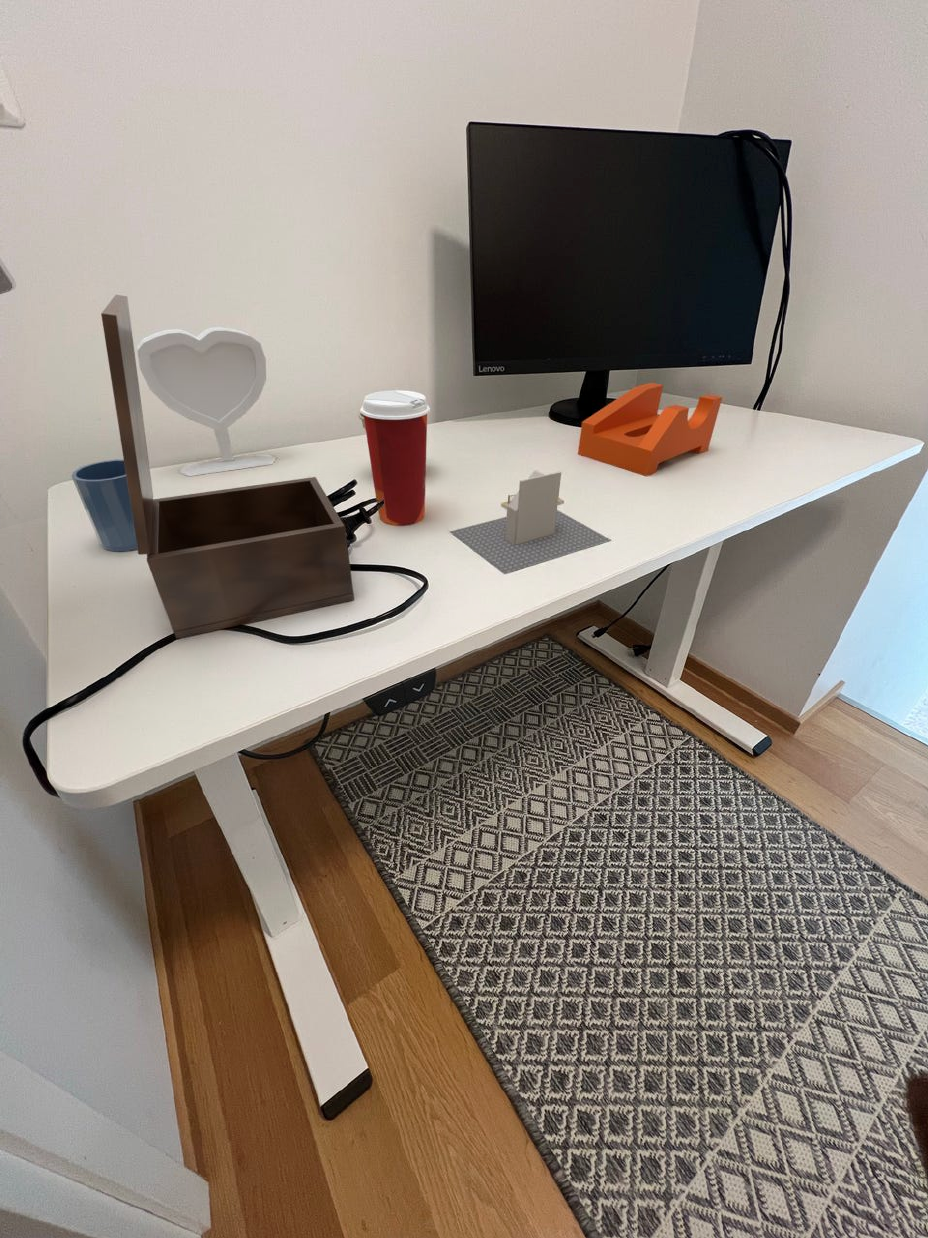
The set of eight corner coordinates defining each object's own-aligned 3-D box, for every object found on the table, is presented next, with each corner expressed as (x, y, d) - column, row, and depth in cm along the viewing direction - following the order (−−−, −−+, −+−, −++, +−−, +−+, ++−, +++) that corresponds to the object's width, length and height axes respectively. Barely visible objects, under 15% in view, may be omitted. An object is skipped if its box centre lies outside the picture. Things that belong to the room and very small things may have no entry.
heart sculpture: (173, 478, 76) (129, 335, 66) (171, 467, 80) (129, 330, 70) (285, 462, 82) (260, 328, 72) (278, 452, 86) (254, 323, 76)
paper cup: (444, 512, 68) (443, 394, 60) (407, 535, 63) (400, 410, 55) (395, 498, 72) (388, 385, 63) (356, 519, 66) (342, 399, 58)
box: (325, 543, 61) (315, 476, 57) (354, 600, 52) (344, 525, 47) (174, 570, 56) (149, 499, 51) (176, 639, 47) (146, 559, 42)
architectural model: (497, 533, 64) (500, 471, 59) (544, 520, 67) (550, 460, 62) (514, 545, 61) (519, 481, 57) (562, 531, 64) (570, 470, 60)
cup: (98, 556, 58) (67, 484, 54) (103, 531, 63) (75, 463, 58) (164, 545, 60) (140, 475, 56) (164, 522, 65) (142, 456, 60)
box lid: (127, 296, 43) (115, 294, 42) (116, 314, 33) (101, 312, 33) (153, 495, 51) (143, 494, 51) (150, 554, 42) (138, 554, 42)
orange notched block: (641, 432, 97) (651, 382, 92) (707, 450, 89) (722, 396, 84) (577, 453, 87) (585, 399, 82) (646, 476, 79) (658, 417, 74)
